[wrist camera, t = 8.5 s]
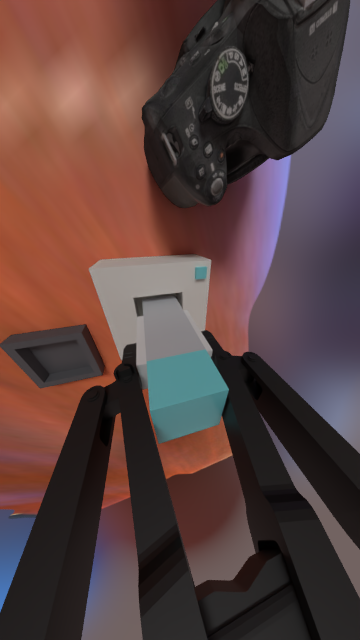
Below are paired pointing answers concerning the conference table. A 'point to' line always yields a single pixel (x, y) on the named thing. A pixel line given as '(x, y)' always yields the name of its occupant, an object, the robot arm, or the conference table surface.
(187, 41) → the camera
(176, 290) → the port panel
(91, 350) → the dark grey square tray
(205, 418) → the plug
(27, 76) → the conference table surface
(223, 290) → the conference table surface
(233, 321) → the conference table surface
